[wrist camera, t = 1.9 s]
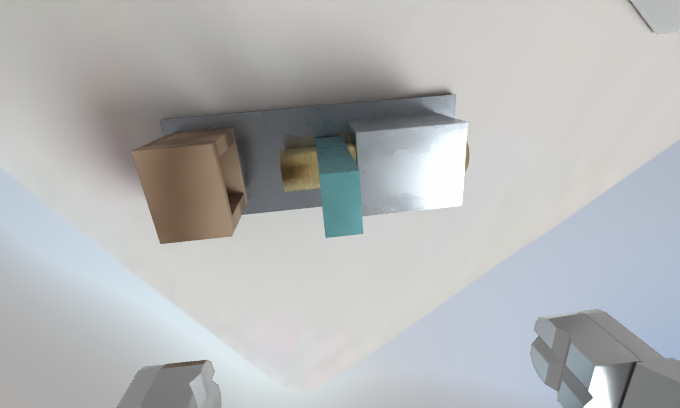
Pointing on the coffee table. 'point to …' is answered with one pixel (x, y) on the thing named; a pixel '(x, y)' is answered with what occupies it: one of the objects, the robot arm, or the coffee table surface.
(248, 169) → the grey base plate
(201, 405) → the robot arm
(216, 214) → the socket
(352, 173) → the rod
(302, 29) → the coffee table surface
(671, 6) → the milk carton
